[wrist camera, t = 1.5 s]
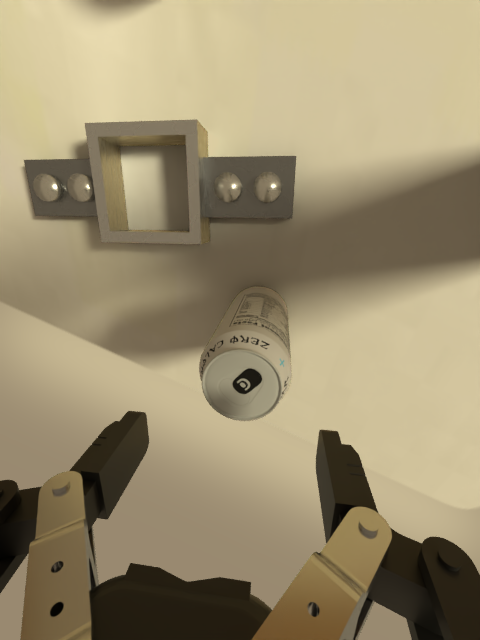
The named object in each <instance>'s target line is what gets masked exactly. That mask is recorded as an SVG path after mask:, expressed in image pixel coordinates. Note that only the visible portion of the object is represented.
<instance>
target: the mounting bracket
mask: <svg viewBox="0 0 480 640" xmlns="http://www.w3.org/2000/svg"><path fill="white" fill-rule="evenodd" d="M85 129H86V136H87V143H88V150H89V157H90V159H56V160H24V162H25V167H26V172H27V177H28V182H29V187H30V192H31V197H32V202H33V206H34V211H35V216H98V222H99V229H100V236H101V242H116V243H162V244H204V243H207V242H210V223H209V217H215V218H292V213H293V197H294V182H295V166H296V156H261V157H208V134H207V131H206V130H205V128H204V127H203V126H202V125H201V124H200V123H199V121H198V120H172V121H139V122H107V123H85ZM160 145H186V158H187V181H188V204H189V226H190V231H166V230H128V222H127V213H126V204H125V195H124V185H123V176H122V167H121V158H120V149H119V146H160Z"/></svg>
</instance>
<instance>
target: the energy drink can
mask: <svg viewBox="0 0 480 640" xmlns="http://www.w3.org/2000/svg"><path fill="white" fill-rule="evenodd" d="M199 372H200V377H201V381H202V389H203V393H204V395H205V398H206V400H207V401H208V402H209V404H210V405H211V406H212V407H213V408H214V409H215V410H216V411H217V412H219V413H220V414H222V415H223V416H225V417H228V418H231V419H234V420H239V421H251V420H257V419H259V418H262V417H264V416H266V415H267V414H269V413H270V412H271V411H272V410H274V409H275V407H276V406H277V404H278V403H279V401H280V400H281V399H282V398H283V397H284V395H285V394H286V392H287V391H288V389H289V386H290V383H291V377H292V370H291V355H290V340H289V326H288V311H287V307H286V304H285V302H284V300H283V299H282V297H281V296H280V295H279V294H278V293H276V292H275V291H273V290H272V289H270V288H266V287H261V286H256V287H250V288H247V289H245V290H243V291H241V292H240V293H239V294H238V295H237V296H236V297H235V298H234V300H233V302H232V303H231V305H230V307H229V308H228V310H227V312H226V314H225V315H224V317H223V319H222V320H221V322H220V324H219V325H218V327H217V329H216V331H215V332H214V334H213V336H212V337H211V339H210V341H209V343H208V344H207V346H206V348H205V350H204V351H203V353H202V355H201V359H200V366H199Z"/></svg>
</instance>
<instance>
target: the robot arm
mask: <svg viewBox="0 0 480 640" xmlns="http://www.w3.org/2000/svg"><path fill="white" fill-rule="evenodd" d="M148 444H149V436H148V426H147V418H146V414H145V413H144V412H135V411H128V412H127V413H126V414H125V415H124V417H123V418H122V419H121V420H120V421H115V422H114V423H112V424H110V425H109V426H108V427H106V428H105V429H104V430H103V431H102V432H101V434H100V435H99V436H98V438H97V439H96V440H95V441H94V442H93V443H92V445H91V446H90V447H89V448H88V449H87V450H86V452H85V453H84V454H83V455H82V456H81V458H80V459H79V460H78V461H77V462H76V464H75V465H74V466H73V467H72V468H71V469H70V471H67V472H62V473H59V474H57V475H55V476H54V477H52V478H50V479H49V480H48V481H47V482H46V483H45V484H44V485H43V486H42V487H36V488H30V489H24V490H19V488H18V485H17V483H16V482H15V481H12V480H3V481H0V593H1V592H2V590H3V589H4V587H5V586H6V584H7V583H8V582H9V580H10V579H11V577H12V576H13V574H14V573H15V572H16V570H17V569H18V567H19V566H20V564H21V563H22V561H23V560H24V559H25V557H26V556H27V554H28V553H29V556H28V567H27V576H26V586H25V597H24V608H23V618H22V630H21V639H20V640H357V639H358V637H359V635H360V633H361V630H362V628H363V626H364V624H365V622H366V620H367V617H368V615H369V613H370V611H371V608H372V606H373V604H374V602H376V603H378V604H380V605H382V606H384V607H386V608H388V609H390V610H392V611H394V612H395V613H397V614H399V615H401V616H403V617H405V618H406V619H407V622H408V627H409V630H410V634H411V637H412V640H480V575H479V573H478V571H477V569H476V567H475V565H474V563H473V562H472V560H471V559H470V558H469V556H468V555H467V554H466V553H465V552H464V551H463V550H461V548H459V547H458V546H457V545H455V544H454V543H452V542H450V541H448V540H446V539H444V538H440V537H429V538H427V539H425V540H424V541H423V543H419V542H417V541H414V540H412V539H410V538H407V537H405V536H403V535H401V534H399V533H397V532H395V531H394V530H393V529H391V528H390V526H389V524H388V523H387V521H386V520H385V519H384V518H383V517H382V516H381V515H380V514H379V513H378V511H377V509H376V505H375V502H374V499H373V496H372V493H371V490H370V487H369V484H368V482H367V478H366V477H365V472H364V469H363V468H362V463H361V460H360V457H359V455H358V453H357V452H356V451H355V450H354V449H353V447H352V446H351V445H345V444H341V441H340V437H339V434H338V432H337V431H329V430H320V431H319V438H318V446H317V455H316V474H317V481H318V488H319V495H320V502H321V509H322V516H323V523H324V530H325V537H326V545H325V547H324V548H323V550H322V551H321V552H320V553H317V552H314V553H313V554H312V555H311V556H310V558H309V559H308V560H307V562H306V563H305V565H304V566H303V567H302V569H301V570H300V572H299V573H298V574H297V576H296V577H295V579H294V580H293V582H292V583H291V584H290V586H289V587H288V589H287V590H286V592H285V593H284V594H283V596H282V597H281V599H280V600H279V601H278V603H277V604H276V606H275V607H274V609H273V610H271V608H270V607H268V606H267V605H266V604H265V603H264V602H263V601H261V600H260V599H259V598H257V597H255V596H253V595H251V594H250V590H251V582H246V581H240V580H234V579H227V578H221V577H219V578H212V579H205V580H198V581H191V582H186V581H184V580H182V579H180V578H178V577H176V576H174V575H172V574H170V573H168V572H166V571H164V570H163V569H161V568H158V567H152V566H146V565H139V564H133V563H131V564H130V566H129V568H128V570H127V572H126V575H121V576H118V577H115V578H112V579H110V580H107V581H105V582H104V583H101V584H100V585H99V580H98V574H97V564H96V554H95V544H94V534H93V527H92V525H93V524H94V522H95V521H96V519H97V518H101V519H108V518H109V516H110V514H111V513H112V511H113V509H114V507H115V506H116V504H117V502H118V501H119V499H120V497H121V495H122V493H123V492H124V490H125V488H126V487H127V485H128V483H129V481H130V480H131V478H132V476H133V474H134V473H135V471H136V469H137V467H138V466H139V464H140V462H141V461H142V459H143V457H144V455H145V453H146V451H147V448H148Z"/></svg>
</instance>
